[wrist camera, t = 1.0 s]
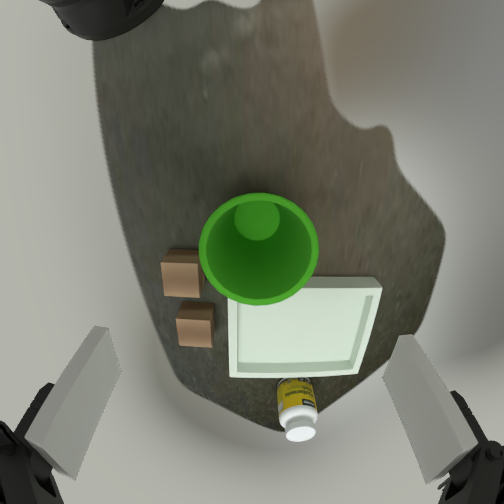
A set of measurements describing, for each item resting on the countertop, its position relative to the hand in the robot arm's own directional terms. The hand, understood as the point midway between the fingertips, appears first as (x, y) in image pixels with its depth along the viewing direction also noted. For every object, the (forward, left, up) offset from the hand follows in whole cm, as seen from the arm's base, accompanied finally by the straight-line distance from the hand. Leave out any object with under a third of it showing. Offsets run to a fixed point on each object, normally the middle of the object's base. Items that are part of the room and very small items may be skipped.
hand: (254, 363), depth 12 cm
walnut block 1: (+5, -8, -22) cm, 24 cm away
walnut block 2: (+12, -7, -22) cm, 26 cm away
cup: (-1, 0, -22) cm, 22 cm away
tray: (+13, +6, -22) cm, 26 cm away
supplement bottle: (+25, +7, -22) cm, 34 cm away
